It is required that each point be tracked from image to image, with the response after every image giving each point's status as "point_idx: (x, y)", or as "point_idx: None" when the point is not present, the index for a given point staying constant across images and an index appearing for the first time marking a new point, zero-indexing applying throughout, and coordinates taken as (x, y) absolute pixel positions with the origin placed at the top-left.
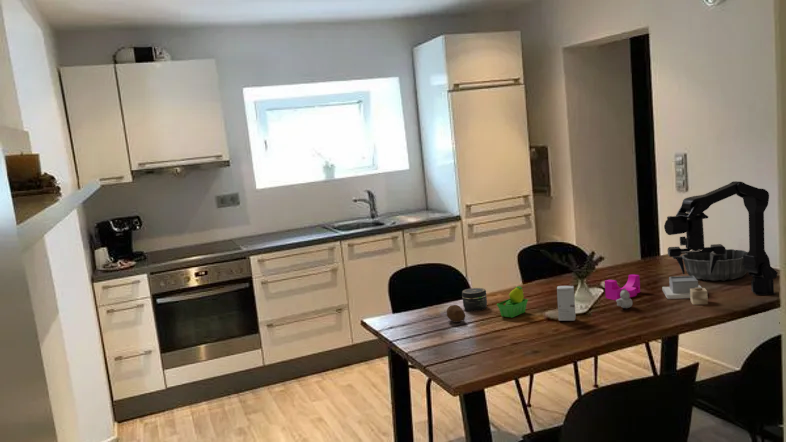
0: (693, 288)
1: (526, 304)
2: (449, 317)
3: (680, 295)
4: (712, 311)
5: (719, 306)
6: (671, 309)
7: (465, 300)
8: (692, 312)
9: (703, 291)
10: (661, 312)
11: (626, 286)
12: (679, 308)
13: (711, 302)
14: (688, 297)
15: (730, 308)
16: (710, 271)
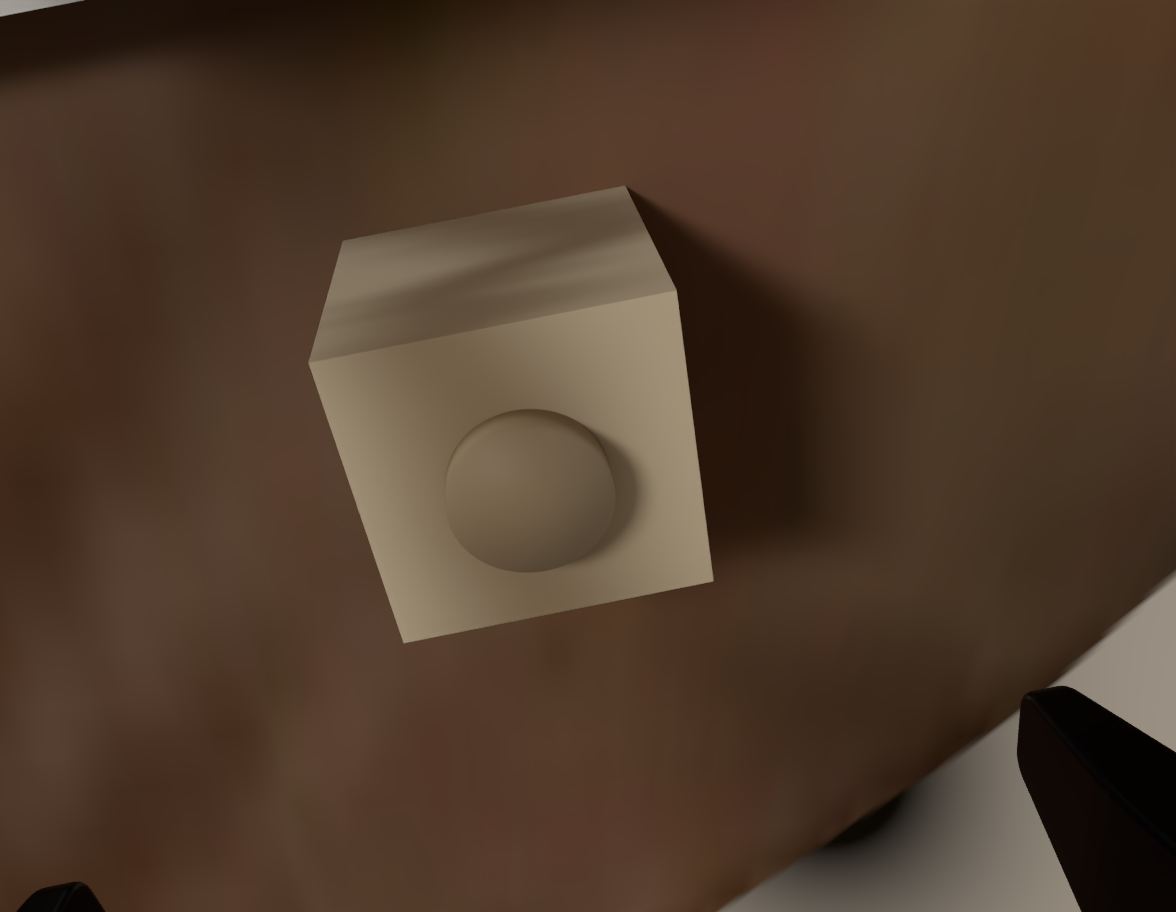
0: (401, 359)
1: None
2: None
3: (50, 5)
4: (694, 773)
5: (820, 545)
6: (124, 755)
7: None
8: (442, 838)
9: (635, 593)
10: (28, 887)
11: None
12: (231, 698)
13: (729, 311)
14: None
15: (947, 627)
16: (1043, 784)
